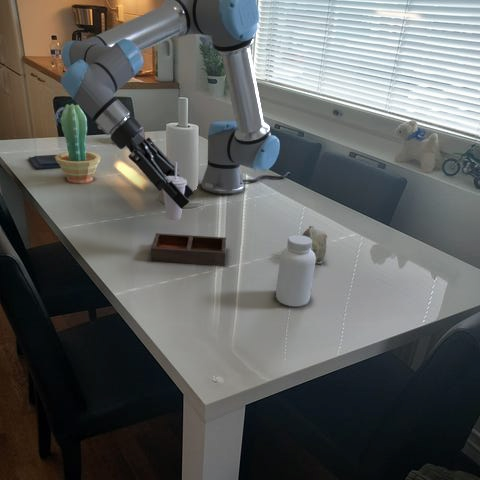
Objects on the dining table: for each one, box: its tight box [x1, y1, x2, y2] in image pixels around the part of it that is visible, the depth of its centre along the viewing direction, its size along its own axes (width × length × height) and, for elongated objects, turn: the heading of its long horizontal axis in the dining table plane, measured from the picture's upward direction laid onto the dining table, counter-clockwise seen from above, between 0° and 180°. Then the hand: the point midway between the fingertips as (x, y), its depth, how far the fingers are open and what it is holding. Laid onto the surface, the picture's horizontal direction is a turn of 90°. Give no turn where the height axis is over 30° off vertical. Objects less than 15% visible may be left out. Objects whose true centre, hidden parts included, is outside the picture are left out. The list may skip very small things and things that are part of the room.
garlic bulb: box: [301, 225, 328, 264], centre depth 134 cm, size 9×8×10 cm
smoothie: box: [162, 161, 188, 221], centre depth 124 cm, size 6×6×14 cm
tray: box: [150, 232, 227, 266], centre depth 132 cm, size 10×19×4 cm, turn 90°
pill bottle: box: [275, 234, 316, 307], centre depth 113 cm, size 8×8×15 cm
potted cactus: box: [54, 103, 101, 184], centre depth 174 cm, size 15×15×25 cm
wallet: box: [28, 154, 61, 170], centre depth 196 cm, size 20×2×15 cm
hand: (187, 200), depth 125 cm, fingers closed on smoothie, 6 cm apart
